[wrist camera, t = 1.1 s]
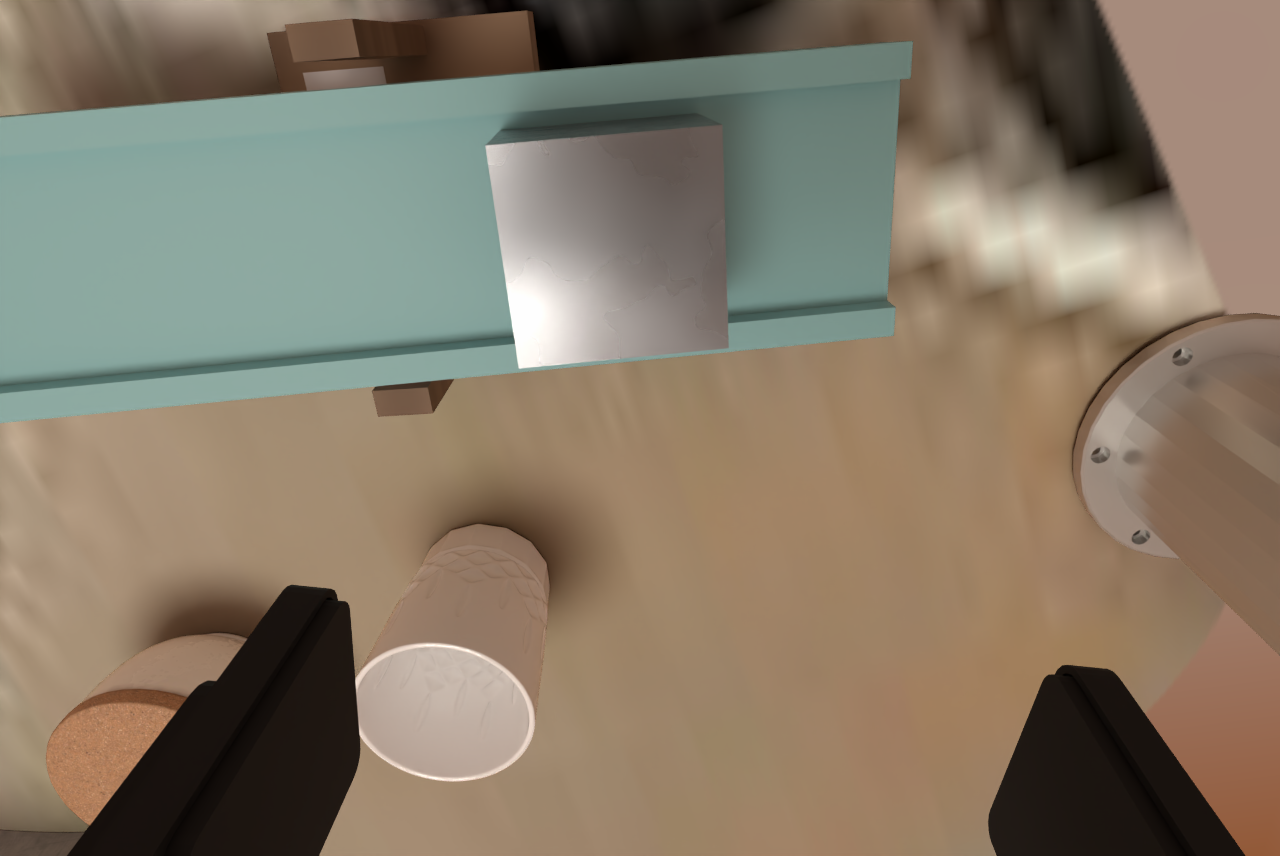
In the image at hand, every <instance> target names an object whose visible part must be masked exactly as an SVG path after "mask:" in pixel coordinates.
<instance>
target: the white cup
mask: <svg viewBox="0 0 1280 856" xmlns="http://www.w3.org/2000/svg"><path fill="white" fill-rule="evenodd" d="M549 591H550V583H549V576H548V569H547V563H546V561H545V560H544V559H543V557H542V556H541V555H540V553H539V552H538V551H537V549H536V548H535V547H534V545H533V544H532V543H531V542H530V541H529V540H527V539H525V538H523V537H522V536H520V535H518V534H516V533H515V532H513V531H511V530H509V529H508V528H504V527H497V526H490V525H484V524H475V525H471V526H467V527H463V528H459V529H455V530H451V531H450V532H448V533H447V534H446V535H445V536H444V537H443V538H441V539H440V540H439V541H438V542H437V543H435V544H434V545H433V546H432V547H431V548H430V550H429V552H428V554H427V556H426V558H425V560H424V562H423V563H422V565H421V567H420V569H419V571H418V572H417V573H416V575H415V576H414V577H413V579H412V580H411V582H410V583H409V585H408V586H407V588H406V590H405V592H404V593H403V595H402V597H401V599H400V600H399V602H398V603H397V605H396V606H395V608H394V610H393V612H392V614H391V615H390V617H389V619H388V621H387V623H386V625H385V626H384V628H383V630H382V632H381V634H380V636H379V637H378V639H377V641H376V643H375V645H374V647H373V648H372V650H371V652H370V654H369V656H368V657H367V659H366V661H365V663H364V665H363V666H362V668H361V670H360V672H359V674H358V675H357V677H356V679H355V683H356V696H357V709H358V722H359V735H360V737H361V738H362V740H363V741H364V742H365V743H366V744H367V746H368V747H369V748H370V749H371V750H372V751H373V752H374V753H376V754H377V755H378V756H379V757H381V758H382V759H383V760H385V761H386V762H388V763H389V764H391V765H393V766H395V767H397V768H399V769H401V770H403V771H405V772H408V773H410V774H413V775H416V776H419V777H423V778H427V779H433V780H440V781H468V780H475V779H480V778H484V777H487V776H490V775H493V774H495V773H497V772H500V771H501V770H503V769H505V768H507V767H508V766H510V765H511V764H513V763H514V762H515V761H516V760H517V759H518V758H519V757H520V756H521V755H522V754H523V753H524V751H525V750H526V749H527V747H528V745H529V743H530V741H531V739H532V736H533V733H534V728H535V720H536V712H537V704H538V696H539V688H540V681H541V673H542V665H543V658H544V649H545V635H546V629H547V605H548V598H549Z"/></svg>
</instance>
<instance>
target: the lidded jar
mask: <svg viewBox="0 0 1280 856" xmlns="http://www.w3.org/2000/svg"><path fill="white" fill-rule="evenodd" d="M247 639H248V638H245V637H242V636H239V635H235V634H230V633H209V634H204V635H188V636H183V637H177V638H173V639H170V640H166V641H164V642H161V643H158V644H155V645H153V646H151V647H149V648H147V649H145V650H143V651H141V652H140V653H138V654H136V655H134V656H133V657H131V658H130V659H129V660H127V661H126V662H124V663H123V664H121V665H120V666H119V667H118V668H117V669H116V670H114V671H113V672H112V673H111V674H110V675H109V676H107V677H106V678H105V679H104V680H103V681H102V682H100V683H99V684H98V685H97V686H96V687H95V688H94V689H93V690H92V692H91V693H90V694H89V695H88V696H87V697H86V698H85V699H84V700H83V701H82V703H80V704H79V705H78V706H77V707H75V708H74V709H73V710H72V711H71V712H70V713H68V714H67V716H66V717H65V718H64V719H63V720H62V721H61V722H60V723H59V725H58V726H57V727H56V729H55V730H54V731H53V733H52V735H51V737H50V740H49V742H48V746H47V753H46V762H47V770H48V773H49V777H50V780H51V783H52V784H53V786H54V788H55V790H56V791H57V793H58V795H59V796H60V797H61V799H62V800H63V801H64V803H65V804H66V805H67V806H68V807H69V808H70V809H71V810H72V811H73V812H74V813H75V814H76V815H77V816H78V817H79V818H81V819H82V820H83V821H84V822H86V823H87V824H88V825H89V826H90V825H91V823H92V822H93V821H94V819H95V818H96V817H97V815H98V814H99V813H100V811H101V810H102V809H103V808H104V806H105V805H106V804H107V802H108V801H109V800H110V798H111V797H112V796H113V794H114V793H115V792H116V790H117V789H118V788H119V787H120V785H121V784H122V783H123V781H124V780H125V779H126V777H127V776H128V775H129V773H130V772H131V771H132V769H133V768H134V767H135V766H136V764H137V763H138V762H139V760H140V759H141V758H142V756H143V755H144V754H145V752H146V751H147V750H148V749H149V747H150V746H151V745H152V743H153V742H154V741H155V739H156V738H157V737H158V735H159V734H160V733H161V731H162V730H163V729H164V728H165V726H166V725H167V724H168V722H169V721H170V720H171V718H172V717H173V716H174V714H175V713H176V712H177V710H178V709H179V708H180V707H181V705H182V704H183V703H184V701H185V700H186V699H187V697H188V696H189V695H190V694H191V693H192V692H193V691H194V689H195V688H196V687H197V686H198V685H200V684H201V683H203V682H205V681H207V680H210V681H217V680H218V678H219V677H220V675H221V674H222V673H223V671H224V670H225V669H226V667H227V666H228V665H229V663H230V662H231V660H232V659H233V658H234V656H235V655H236V654H237V652H238V651H239V650H240V648H241V647H242V646H243V644H244V643H245V641H246V640H247Z"/></svg>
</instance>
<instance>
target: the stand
mask: <svg viewBox="0 0 1280 856" xmlns="http://www.w3.org/2000/svg"><path fill="white" fill-rule="evenodd" d="M285 28H286V31H285V32H273V33H267V36H268V40H269V44H270V48H271V52H272V56H273V60H274V64H275V68H276V72H277V76H278V80H279V84H280V88H281V92H282V93H283V92H294V91H306V90H307V88H306V84H305V80H304V76H303V73H308V72H319V71H331V70H343V69H355V68H368V67H381V66H383V68H384V73H385V79H386V84H390V83H402V82H414V81H426V80H438V79H450V78H462V77H473V76H485V75H497V74H509V73H521V72H533V71H540V69H539V61H538V53H537V44H536V36H535V27H534V19H533V12H530V11H516V12H505V13H493V14H482V15H470V16H459V17H447V18H435V19H424V20H412V21H401V22H380V21H369V20H359V19H345V20H333V21H322V22H310V23H299V24H287V25H285ZM453 380H454V379H446V380H436V381H426V382H416V383H405V384H395V385H385V386H376V387H375V388H374V389H373V391H372V393H373V397H374V401H375V405H376V409H377V414H378V417H380V416H397V415H413V414H430V413H433V412H434V411H435V409H436V408H437V406H438V404H439V403H440V401H441V399H442V398H443V396H444V395H445V393H446V391H447V390H448V388H449V387H450V385H451V383H452V382H453Z"/></svg>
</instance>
